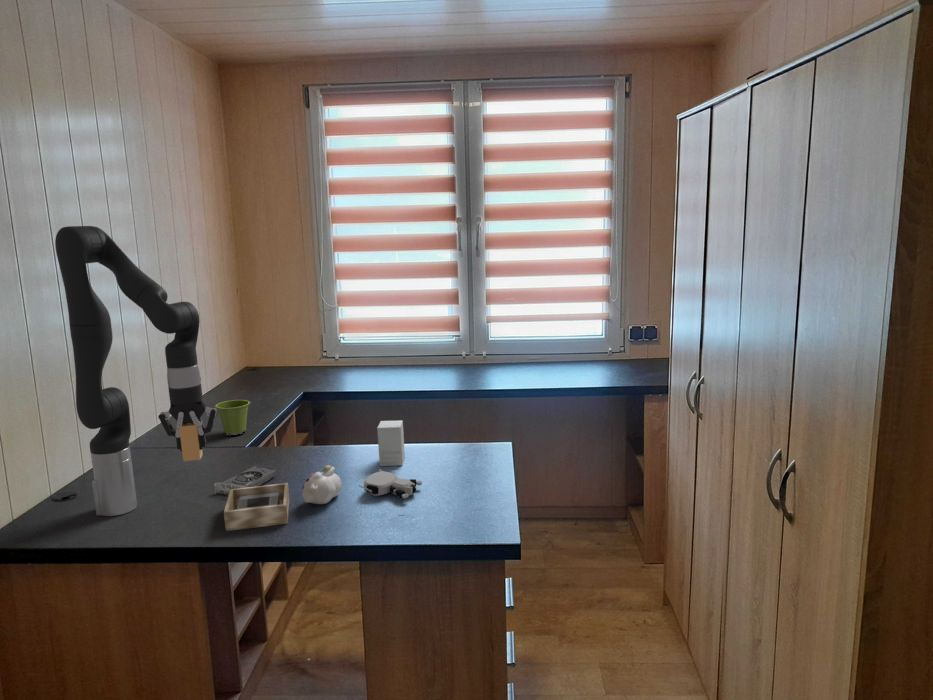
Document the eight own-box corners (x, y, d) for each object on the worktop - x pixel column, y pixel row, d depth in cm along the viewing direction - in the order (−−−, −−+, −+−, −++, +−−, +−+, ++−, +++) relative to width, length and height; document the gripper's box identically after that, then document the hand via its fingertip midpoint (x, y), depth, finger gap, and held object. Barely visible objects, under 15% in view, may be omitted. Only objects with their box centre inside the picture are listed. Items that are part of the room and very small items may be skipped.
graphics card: (247, 489, 184) (213, 482, 189) (248, 502, 185) (213, 495, 189) (285, 468, 200) (252, 463, 204) (285, 480, 200) (253, 474, 205)
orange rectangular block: (183, 461, 166) (179, 426, 165) (186, 456, 170) (182, 422, 168) (200, 459, 167) (196, 425, 165) (202, 454, 171) (198, 420, 169)
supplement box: (405, 457, 214) (403, 419, 212) (402, 466, 207) (400, 427, 204) (382, 458, 214) (380, 420, 212) (378, 466, 207) (376, 427, 205)
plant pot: (259, 431, 245) (256, 401, 243) (232, 440, 235) (229, 410, 233) (237, 426, 251) (235, 397, 249) (211, 435, 241) (208, 405, 239)
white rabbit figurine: (332, 457, 189) (305, 470, 175) (354, 473, 188) (330, 488, 173) (316, 484, 191) (289, 499, 177) (339, 500, 190) (313, 517, 175)
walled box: (225, 531, 166) (223, 512, 165) (232, 506, 180) (230, 489, 179) (287, 523, 169) (286, 505, 168) (289, 500, 184) (288, 482, 183)
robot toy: (424, 491, 190) (377, 481, 195) (425, 476, 189) (377, 466, 194) (406, 508, 179) (356, 498, 184) (406, 492, 178) (356, 482, 183)
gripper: (150, 389, 160) (158, 457, 163) (212, 384, 163) (220, 451, 166) (157, 382, 167) (165, 447, 170) (216, 377, 170) (223, 442, 173)
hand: (192, 449), depth 168 cm, fingers closed on orange rectangular block, 4 cm apart
